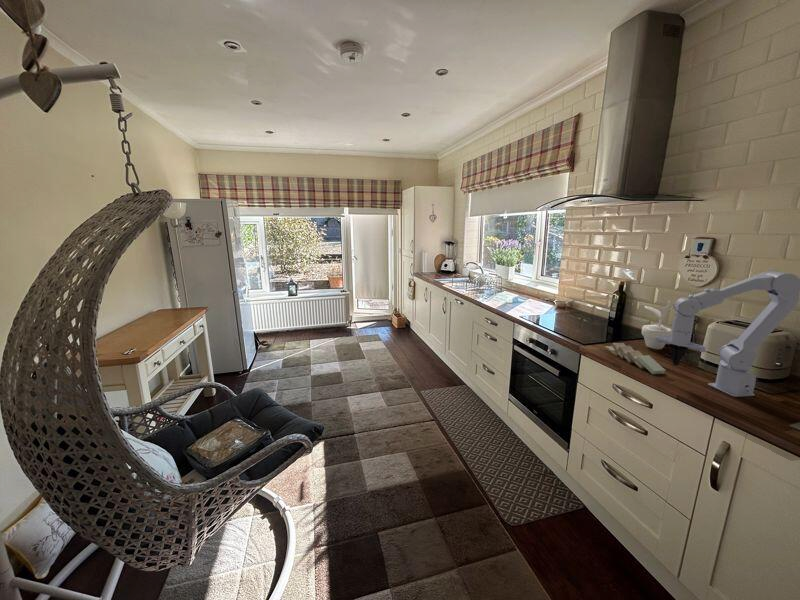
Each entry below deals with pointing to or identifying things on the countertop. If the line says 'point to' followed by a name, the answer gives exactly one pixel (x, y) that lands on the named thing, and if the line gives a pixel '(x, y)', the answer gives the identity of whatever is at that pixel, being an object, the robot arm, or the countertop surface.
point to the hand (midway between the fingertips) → (676, 364)
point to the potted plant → (656, 328)
